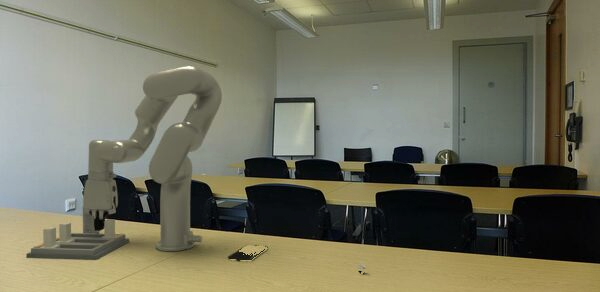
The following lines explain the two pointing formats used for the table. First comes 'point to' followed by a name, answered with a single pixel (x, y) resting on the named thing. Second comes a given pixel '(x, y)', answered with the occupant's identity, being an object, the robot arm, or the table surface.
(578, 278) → the table surface
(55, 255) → the switch bank
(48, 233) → the left tab
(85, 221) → the energy drink
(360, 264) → the adhesive hook
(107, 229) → the right tab
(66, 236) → the middle tab
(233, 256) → the phone
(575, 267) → the table surface
